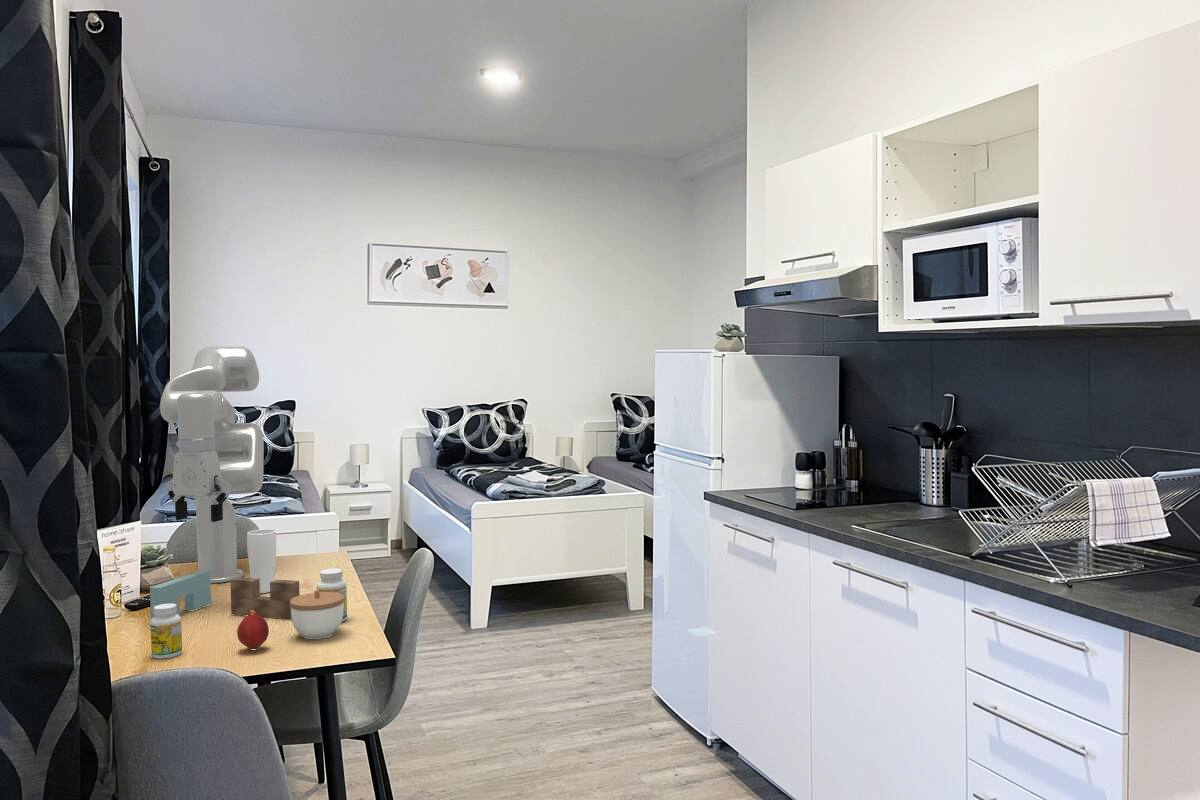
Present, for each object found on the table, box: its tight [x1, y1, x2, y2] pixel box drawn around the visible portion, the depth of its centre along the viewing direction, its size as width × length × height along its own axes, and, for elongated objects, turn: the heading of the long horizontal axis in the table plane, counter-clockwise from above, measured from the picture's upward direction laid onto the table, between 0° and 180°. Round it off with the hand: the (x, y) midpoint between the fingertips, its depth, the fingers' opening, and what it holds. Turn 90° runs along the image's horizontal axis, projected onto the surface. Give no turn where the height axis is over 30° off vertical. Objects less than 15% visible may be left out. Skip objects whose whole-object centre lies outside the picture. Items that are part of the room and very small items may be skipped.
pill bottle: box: [316, 568, 348, 623], centre depth 193 cm, size 6×6×11 cm
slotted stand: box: [229, 576, 301, 620], centre depth 197 cm, size 16×2×8 cm, turn 75°
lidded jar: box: [290, 589, 344, 640], centre depth 182 cm, size 11×11×9 cm
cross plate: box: [149, 570, 212, 621], centre depth 200 cm, size 16×2×8 cm, turn 165°
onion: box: [236, 610, 270, 650], centre depth 173 cm, size 6×6×8 cm
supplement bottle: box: [149, 604, 183, 660], centre depth 171 cm, size 5×5×10 cm
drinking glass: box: [246, 528, 277, 594], centre depth 218 cm, size 7×7×15 cm
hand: (199, 520), depth 204 cm, fingers open, 9 cm apart
